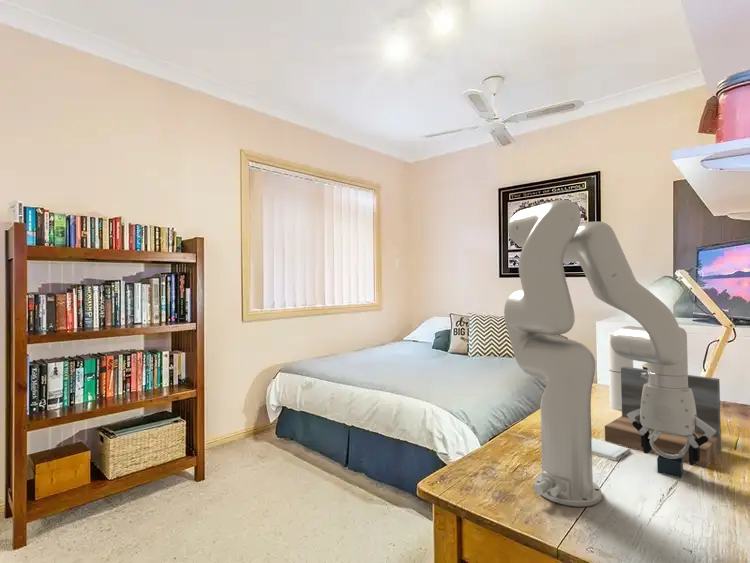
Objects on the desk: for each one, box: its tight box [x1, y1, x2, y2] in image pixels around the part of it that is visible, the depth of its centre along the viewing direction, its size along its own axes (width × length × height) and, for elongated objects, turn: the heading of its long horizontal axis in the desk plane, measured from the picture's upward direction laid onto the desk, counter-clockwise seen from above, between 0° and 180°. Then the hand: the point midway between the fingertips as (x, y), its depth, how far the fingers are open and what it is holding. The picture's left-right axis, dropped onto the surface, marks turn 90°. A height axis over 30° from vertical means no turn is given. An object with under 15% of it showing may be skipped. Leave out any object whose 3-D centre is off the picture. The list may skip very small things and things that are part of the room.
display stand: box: [604, 367, 722, 468], centre depth 109 cm, size 14×22×18 cm, turn 40°
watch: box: [648, 430, 691, 479], centre depth 95 cm, size 6×8×11 cm
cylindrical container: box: [607, 332, 634, 412], centre depth 141 cm, size 7×7×25 cm
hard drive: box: [592, 437, 631, 462], centre depth 108 cm, size 2×8×12 cm
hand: (669, 457), depth 95 cm, fingers closed on watch, 8 cm apart
